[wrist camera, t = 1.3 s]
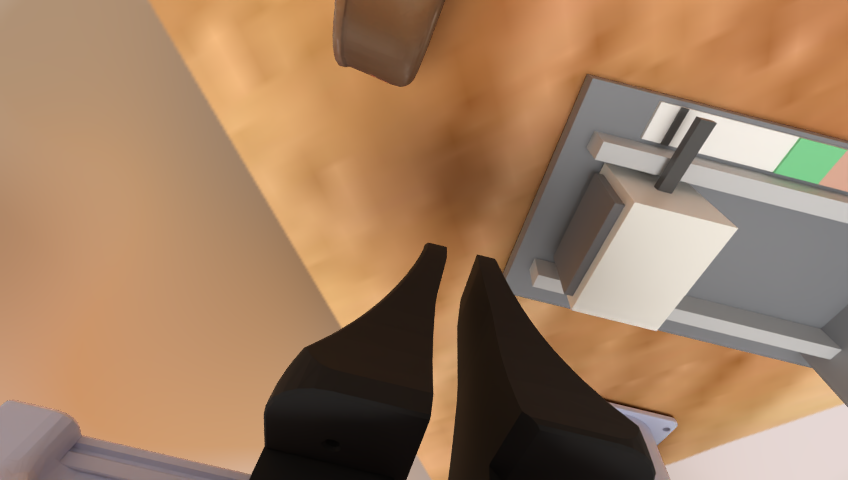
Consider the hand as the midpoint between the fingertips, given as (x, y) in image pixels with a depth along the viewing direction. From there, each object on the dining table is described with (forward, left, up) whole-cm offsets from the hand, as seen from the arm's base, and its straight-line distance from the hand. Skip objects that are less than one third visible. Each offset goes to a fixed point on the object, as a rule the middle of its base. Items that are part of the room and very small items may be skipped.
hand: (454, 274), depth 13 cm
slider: (+2, -8, -7) cm, 11 cm away
